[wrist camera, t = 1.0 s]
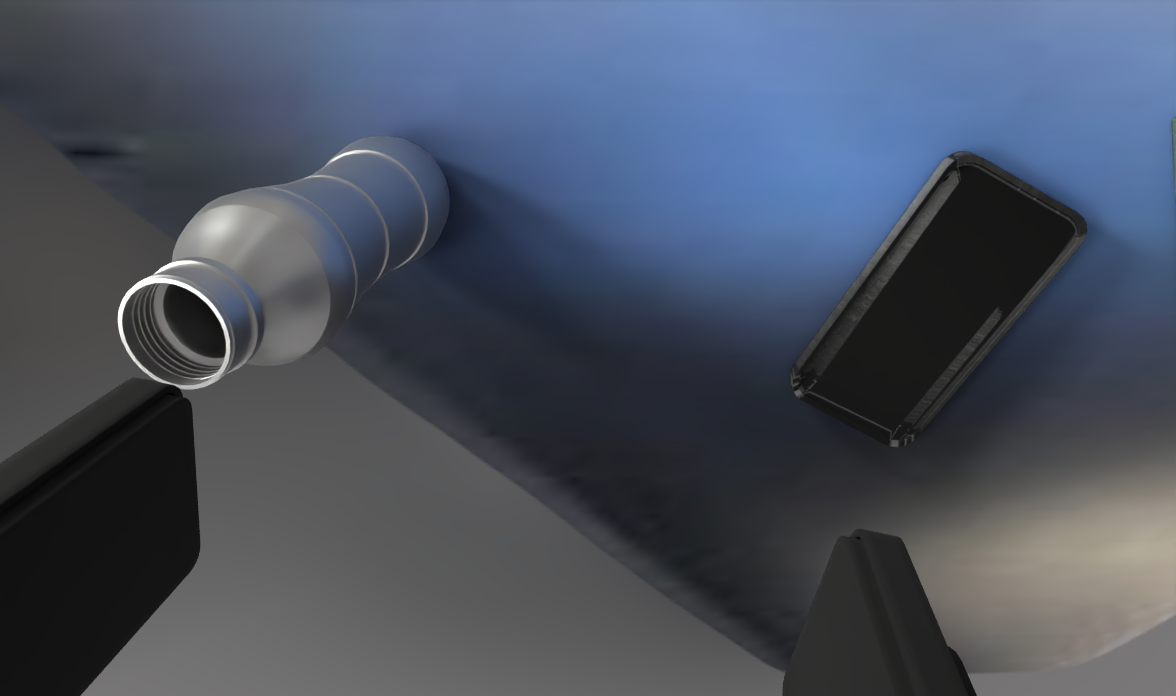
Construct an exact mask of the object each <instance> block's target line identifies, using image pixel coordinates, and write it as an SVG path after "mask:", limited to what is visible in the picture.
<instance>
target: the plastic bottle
mask: <svg viewBox="0 0 1176 696" xmlns="http://www.w3.org/2000/svg"><path fill="white" fill-rule="evenodd" d="M449 206H450V197H449V189H448V185H447V182H446V178H445V176H444V174H443V172H442V170H441V168H440V166H439V165H438V164H437V162H436V161H435V160H434V158H433V157H432V156H431V155H430V154H429V153H428V152H426V151H425V150H424V149H423V148H421V147H420V146H418V145H417V144H415V143H413V142H411V141H408V140H405V139H403V138H397V137H389V136H375V137H367V138H363V139H359V140H357V141H355V142H353V143H351V144H349V145H347V146H346V147H345V148H344V149H342V150H341V151H340V152H339V153H338V154H336V155H335V156H334V157H333V158H332V159H331V160H330V161H329V162H328V163H327V164H326V165H325V167H323V168H322V169H320V170H319V171H317V172H316V173H314V174H313V175H311V176H309V177H306V178H303V179H300V180H297V181H294V182H291V183H287V184H281V185H274V186H267V187H259V188H251V189H247V190H243V191H239V192H235V193H232V194H228V195H225V196H221V197H219V198H217V199H215V200H214V201H212V202H210V203H208V204H207V205H206V206H204V207H203V208H202V209H201V210H200V211H199V212H198V213H197V214H196V215H195V216H194V217H193V218H192V220H191V221H190V222H189V223H188V225H187V226H186V227H185V229H184V230H183V232H182V233H181V235H180V236H179V238H178V240H177V243H176V246H175V249H174V251H173V257H172V263H170V264H168V265H166V266H164V267H162V268H160V269H159V270H158V271H157V272H156V273H155V274H154V275H152V276H150V277H148V278H146V279H144V280H142V281H140V282H138V283H137V284H136V285H135V286H134V287H133V288H131V289H130V290H129V291H128V292H127V293H126V295H125V297H124V298H123V300H122V302H121V305H120V308H119V314H118V326H119V332H120V336H121V339H122V342H123V344H124V346H125V348H126V350H127V352H128V354H129V355H130V356H131V358H132V359H133V361H134V362H135V363H136V364H137V365H138V366H139V367H140V368H141V369H142V370H143V371H144V372H145V373H147V374H148V375H149V376H150V377H152V378H154V379H155V380H157V381H159V382H161V383H166V384H171V385H175V386H177V387H178V388H180V389H197V388H202V387H205V386H207V385H209V384H212V383H214V382H216V381H217V380H219V379H220V378H221V377H223V376H224V375H225V374H226V373H229V372H231V371H234V370H236V369H238V368H239V367H241V366H242V365H243V364H245V363H247V364H252V365H257V366H276V365H281V364H286V363H290V362H293V361H296V360H300V359H303V358H305V357H307V356H310V355H312V354H314V353H316V352H317V351H319V350H320V349H321V348H322V347H324V346H325V345H327V343H328V342H329V341H330V340H331V339H332V338H333V336H334V335H335V334H336V333H337V332H338V331H339V329H340V328H341V327H342V326H343V325H344V323H345V322H346V320H347V319H348V317H349V315H350V314H351V312H352V311H353V309H354V308H355V306H356V305H357V303H358V302H359V300H360V299H361V297H362V296H363V294H364V293H365V292H366V291H367V290H368V289H369V288H370V287H371V286H372V284H374V283H375V282H376V281H377V279H378V278H380V277H382V276H383V275H385V274H387V273H388V272H390V271H391V270H394V269H397V268H400V267H403V266H405V265H407V264H409V263H411V262H413V261H415V260H417V259H419V258H421V257H422V256H423V255H425V254H426V253H427V252H429V250H430V249H431V248H432V247H433V246H434V245H435V243H436V242H437V240H438V238H439V237H440V235H441V233H442V231H443V228H444V226H445V224H446V221H447V217H448V214H449Z"/></svg>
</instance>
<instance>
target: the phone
mask: <svg viewBox="0 0 1176 696" xmlns="http://www.w3.org/2000/svg"><path fill="white" fill-rule="evenodd" d="M1086 233H1087V224H1086V222H1085V220H1084V218H1083V217H1082V216H1081V215H1080V214H1079V213H1077V212H1075V211H1074V210H1072V209H1070V208H1069V207H1067V206H1065V205H1063V204H1062V203H1060V202H1058V201H1056V200H1055V199H1053V198H1051V197H1050V196H1048V195H1046V194H1044V193H1043V192H1041V191H1039V190H1037V189H1036V188H1034V187H1032V186H1031V185H1029V184H1027V183H1025V182H1024V181H1022V180H1020V179H1019V178H1017V177H1015V176H1013V175H1012V174H1010V173H1008V172H1006V171H1005V170H1003V169H1001V168H1000V167H998V166H996V165H994V164H993V163H991V162H989V161H987V160H986V159H984V158H982V157H980V156H978V155H976V154H973V153H970V152H957V153H954V154H951V155H950V156H948V157H946V158H945V159H944V160H943V161H942V162H941V163H940V164H939V166H938V167H937V168H936V170H935V171H934V173H933V174H932V175H931V177H930V178H929V179H928V181H927V182H926V184H925V185H924V186H923V188H922V189H921V191H920V192H919V193H918V195H917V196H916V197H915V199H914V200H913V202H912V203H911V204H910V206H909V207H908V208H907V210H906V211H905V213H904V214H903V215H902V217H901V218H900V219H899V221H898V222H897V224H896V225H895V226H894V228H893V229H892V231H891V232H890V233H889V235H888V236H887V237H886V239H885V240H884V242H883V243H882V244H881V246H880V247H879V248H878V250H877V251H876V253H875V254H874V255H873V257H872V258H871V259H870V261H869V262H868V264H867V265H866V266H865V268H864V269H863V271H862V272H861V273H860V275H859V276H858V277H857V279H856V280H855V282H854V283H853V284H852V286H851V287H850V288H849V290H848V291H847V293H846V294H845V295H844V297H843V298H842V299H841V301H840V302H839V304H838V305H837V306H836V308H835V309H834V311H833V312H832V313H831V315H830V316H829V317H828V319H827V320H826V322H825V323H824V324H823V326H822V327H821V328H820V330H819V331H818V333H817V334H816V335H815V337H814V338H813V340H812V341H811V342H810V344H809V345H808V346H807V348H806V349H805V351H804V352H803V353H802V355H801V356H800V357H799V359H798V360H797V362H796V363H795V364H794V366H793V368H792V370H791V372H790V380H791V384H792V388H793V391H794V393H795V394H796V396H797V397H798V398H799V399H801V400H802V401H804V402H806V403H808V404H810V405H812V406H813V407H815V408H817V409H819V410H821V411H823V412H825V413H827V414H829V415H830V416H832V417H834V418H836V419H838V420H840V421H842V422H844V423H845V424H847V425H849V426H851V427H853V428H855V429H857V430H859V431H861V432H862V433H864V434H866V435H868V436H870V437H872V438H874V439H876V440H878V441H879V442H881V443H883V444H885V445H888V446H891V447H901V446H905V445H907V444H909V443H911V442H912V441H913V440H915V439H916V438H917V436H918V435H919V434H920V433H921V432H922V431H923V429H924V428H925V427H926V426H927V425H928V424H929V422H930V421H931V420H932V419H933V418H934V417H935V415H936V414H937V413H938V412H939V411H940V409H941V408H942V407H943V406H944V405H945V404H946V402H947V401H948V400H949V399H950V398H951V397H952V395H953V394H954V393H955V392H956V391H957V389H958V388H959V387H960V386H961V385H962V384H963V382H964V381H965V380H966V379H967V378H968V377H969V375H970V374H971V373H972V372H973V371H974V370H975V368H976V367H977V366H978V365H979V364H980V363H981V361H982V360H983V359H984V358H985V357H986V355H987V354H988V353H989V352H990V351H991V350H992V348H993V347H994V346H995V345H996V344H997V343H998V341H999V340H1000V339H1001V338H1002V337H1003V336H1004V334H1005V333H1006V332H1007V331H1008V330H1009V329H1010V327H1011V326H1012V325H1013V324H1014V323H1015V321H1016V320H1017V319H1018V318H1019V317H1020V316H1021V314H1022V313H1023V312H1024V311H1025V310H1026V309H1027V307H1028V306H1029V305H1030V304H1031V303H1032V302H1033V300H1034V299H1035V298H1036V297H1037V296H1038V295H1039V293H1040V292H1041V291H1042V290H1043V289H1044V287H1045V286H1046V285H1047V284H1048V283H1049V282H1050V280H1051V279H1052V278H1053V277H1054V276H1055V275H1056V273H1057V272H1058V271H1059V270H1060V269H1061V268H1062V266H1063V265H1064V264H1065V263H1066V262H1067V261H1068V259H1069V258H1070V257H1071V256H1072V255H1073V253H1074V252H1075V251H1076V250H1077V249H1078V248H1079V246H1080V245H1081V244H1082V242H1083V241H1084V239H1085V236H1086Z"/></svg>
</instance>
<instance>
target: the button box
mask: <svg viewBox="0 0 1176 696" xmlns="http://www.w3.org/2000/svg"><path fill="white" fill-rule="evenodd" d="M1172 131H1173V153H1174V176H1175V198H1176V118H1174V119H1172Z"/></svg>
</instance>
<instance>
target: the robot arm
mask: <svg viewBox="0 0 1176 696" xmlns="http://www.w3.org/2000/svg"><path fill="white" fill-rule="evenodd" d="M194 449H195V448H194V432H193V416H192V406H191V403H190V401H189V400H188V399H187V398H183V395H182V392H181V390H180V389H179V388H178V387H177V386H175V385H171V384H166V383H161V382H157V381H152V380H147V379H142V378H132V379H129V380H127V381H125V382H124V383H122V384H121V385H119V386H118V387H116V388H115V389H113V390H112V391H111V392H109V393H107V394H106V395H104V396H103V397H101V398H99V399H98V400H97V401H95V402H93V403H92V404H90V405H89V406H87V407H86V408H84V409H83V410H81V411H80V412H78V413H76V414H75V415H73V416H72V417H71V418H69V419H67V420H66V421H64V422H63V423H61V424H60V425H58V426H57V427H55V428H54V429H52V430H50V431H49V432H47V433H46V434H44V435H43V436H41V437H40V438H38V439H37V440H35V441H34V442H32V443H31V444H29V445H28V446H26V447H24V448H23V449H21V450H20V451H18V452H17V453H15V454H14V455H12V456H11V457H9V458H8V459H6V460H5V461H3V462H1V463H0V696H80V695H81V694H82V693H83V692H84V691H85V690H86V689H87V688H88V686H89V685H90V684H91V683H92V682H93V681H94V679H95V678H96V677H97V676H98V675H99V674H100V673H101V672H102V671H103V670H104V668H105V667H106V666H107V665H108V664H109V663H110V662H111V661H112V659H113V658H114V657H115V656H116V655H117V654H118V653H119V652H120V650H121V649H122V648H123V647H124V646H125V645H126V644H127V642H128V641H129V640H130V639H131V638H132V637H133V636H134V635H135V633H136V632H137V631H138V630H139V629H140V628H141V627H142V626H143V625H144V623H145V622H146V621H147V620H148V619H149V618H150V617H151V615H152V614H153V613H154V612H155V611H156V610H157V609H158V608H159V606H160V605H161V604H162V603H163V602H164V601H165V600H166V598H167V597H168V596H169V595H170V594H171V593H172V592H173V591H174V590H175V588H176V587H177V586H178V585H179V584H180V583H181V582H182V580H183V579H184V578H185V577H186V576H187V575H188V574H189V573H190V571H191V570H192V569H193V567H194V565H195V563H196V561H197V559H198V556H199V552H200V533H199V532H200V530H199V514H198V497H197V481H196V467H195V466H196V465H195V450H194ZM783 696H977V695H976V693H975V690H974V688H973V686H972V684H971V681H970V679H969V677H968V674H967V672H966V670H965V667H964V665H963V663H962V661H961V659H960V658H959V656H958V654H957V653H956V652H955V651H954V650H953V649H951V648H950V647H948V646H947V644H946V642H945V639H944V637H943V634H942V632H941V630H940V627H939V625H938V623H937V620H936V618H935V615H934V613H933V611H932V608H931V606H930V604H929V601H928V599H927V597H926V594H925V592H924V589H923V587H922V585H921V582H920V580H919V578H918V575H917V573H916V571H915V568H914V566H913V563H912V561H911V559H910V556H909V554H908V552H907V549H906V547H905V544H904V543H903V541H902V539H901V538H899V537H897V536H892V535H887V534H883V533H878V532H873V531H868V530H863V529H856V530H855V531H854V532H853V533H852V535H851V537H846V536H841V537H839V538H838V540H837V542H836V544H835V546H834V549H833V551H832V554H831V556H830V559H829V562H828V564H827V567H826V569H825V572H824V575H823V577H822V580H821V582H820V585H819V587H818V590H817V593H816V595H815V598H814V600H813V603H812V606H811V608H810V611H809V613H808V616H807V618H806V621H805V624H804V626H803V629H802V631H801V634H800V637H799V639H798V642H797V644H796V647H795V649H794V652H793V655H792V657H791V660H790V662H789V665H788V667H787V670H786V673H785V676H784V682H783Z"/></svg>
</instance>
